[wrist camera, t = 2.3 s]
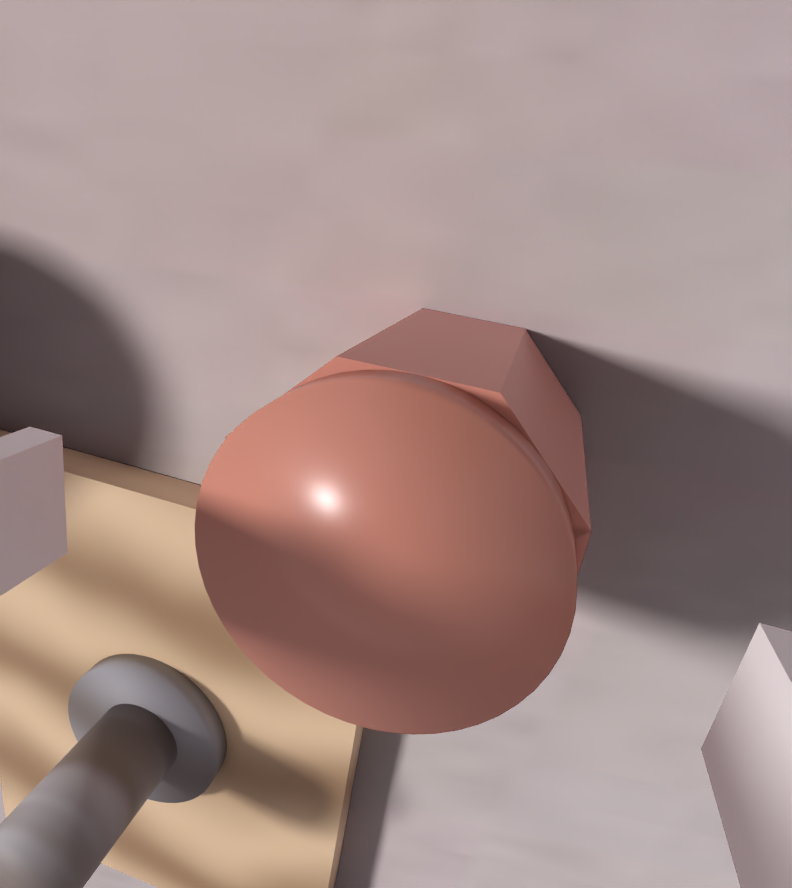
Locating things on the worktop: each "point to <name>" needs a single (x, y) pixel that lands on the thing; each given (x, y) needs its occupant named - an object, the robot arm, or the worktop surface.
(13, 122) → the worktop surface
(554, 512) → the cap
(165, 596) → the stud plate
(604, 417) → the worktop surface
